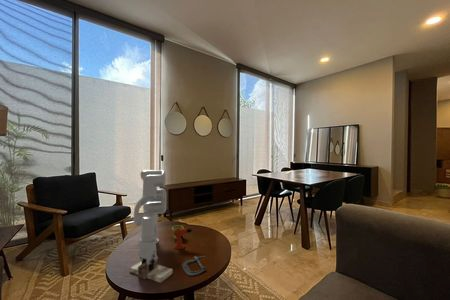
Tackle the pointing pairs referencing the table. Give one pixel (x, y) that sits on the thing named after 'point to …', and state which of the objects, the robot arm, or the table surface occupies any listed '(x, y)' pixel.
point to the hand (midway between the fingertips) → (147, 268)
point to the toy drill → (181, 237)
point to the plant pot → (176, 228)
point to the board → (154, 272)
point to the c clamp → (192, 262)
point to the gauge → (145, 269)
